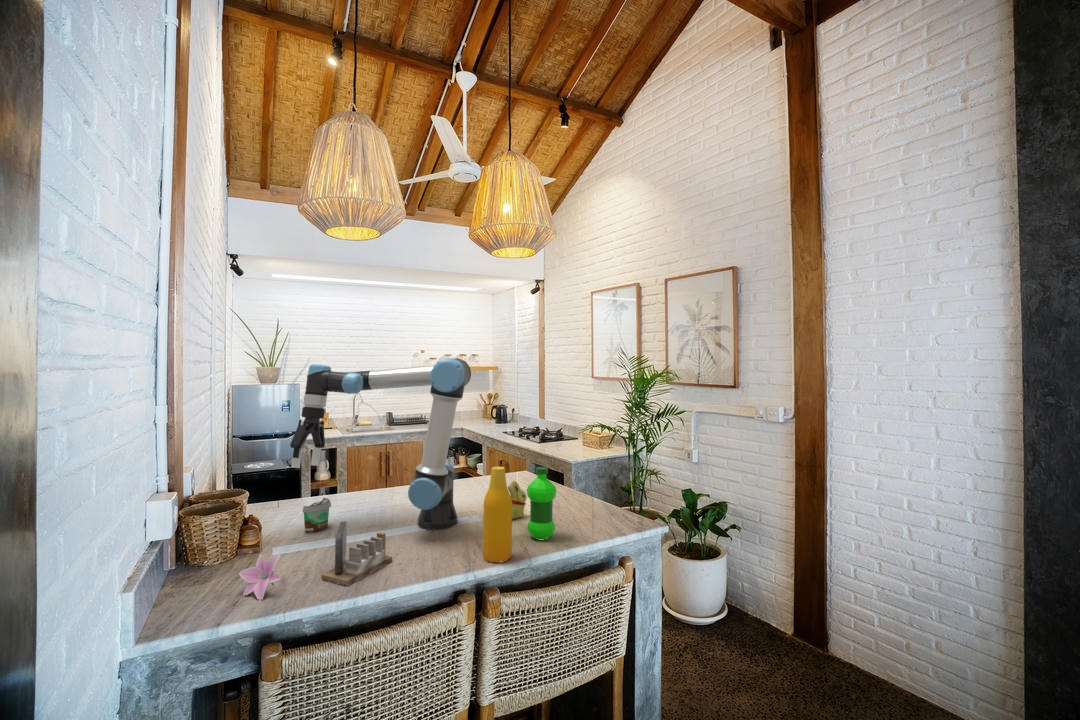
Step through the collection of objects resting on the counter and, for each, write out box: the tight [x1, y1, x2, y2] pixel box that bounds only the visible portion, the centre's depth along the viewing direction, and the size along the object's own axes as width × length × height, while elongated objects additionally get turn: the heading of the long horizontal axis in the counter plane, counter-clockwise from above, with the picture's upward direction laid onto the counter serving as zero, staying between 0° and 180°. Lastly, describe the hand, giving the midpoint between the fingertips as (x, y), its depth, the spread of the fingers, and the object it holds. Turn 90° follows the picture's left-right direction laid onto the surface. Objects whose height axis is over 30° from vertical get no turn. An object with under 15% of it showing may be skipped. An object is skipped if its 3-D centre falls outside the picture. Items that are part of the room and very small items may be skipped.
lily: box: [238, 552, 282, 600], centre depth 137 cm, size 12×12×10 cm
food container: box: [302, 497, 332, 533], centre depth 187 cm, size 12×6×10 cm, turn 168°
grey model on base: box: [321, 532, 393, 586], centre depth 151 cm, size 19×10×13 cm, turn 157°
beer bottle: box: [482, 466, 513, 563], centre depth 162 cm, size 9×9×29 cm
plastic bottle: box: [526, 466, 557, 539], centre depth 181 cm, size 10×10×25 cm
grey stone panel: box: [336, 521, 348, 570], centre depth 153 cm, size 13×2×10 cm, turn 17°
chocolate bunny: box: [507, 480, 528, 520], centre depth 203 cm, size 7×11×15 cm, turn 125°
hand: (305, 466), depth 179 cm, fingers open, 13 cm apart
